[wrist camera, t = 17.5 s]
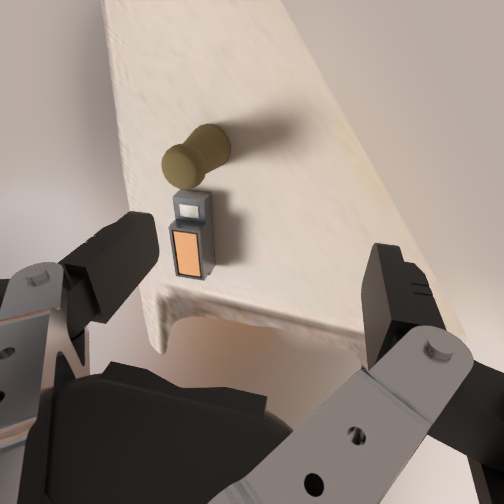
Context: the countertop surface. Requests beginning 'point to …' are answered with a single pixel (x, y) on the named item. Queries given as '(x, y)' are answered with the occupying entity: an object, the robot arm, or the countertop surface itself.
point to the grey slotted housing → (194, 227)
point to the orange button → (188, 252)
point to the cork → (196, 156)
